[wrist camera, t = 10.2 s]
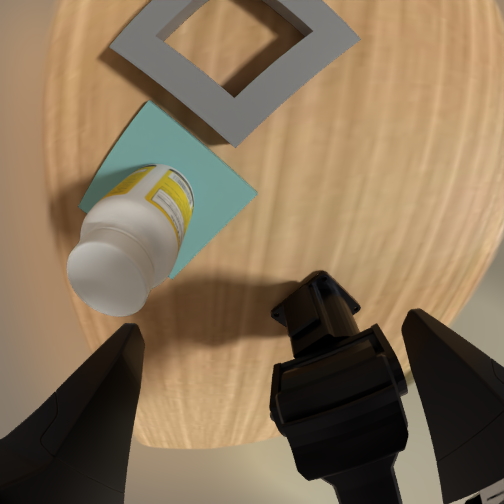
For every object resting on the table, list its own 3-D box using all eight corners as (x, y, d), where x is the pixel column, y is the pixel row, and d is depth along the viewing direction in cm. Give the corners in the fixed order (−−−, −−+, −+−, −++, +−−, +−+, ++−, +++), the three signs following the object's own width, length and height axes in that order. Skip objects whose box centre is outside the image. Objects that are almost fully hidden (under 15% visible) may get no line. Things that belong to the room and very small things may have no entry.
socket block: (349, 44, 14) (361, 39, 12) (235, 143, 17) (235, 148, 16) (234, -49, 9) (234, -61, 8) (121, 50, 13) (108, 46, 11)
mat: (257, 191, 19) (257, 194, 19) (173, 275, 23) (172, 279, 22) (150, 100, 15) (148, 100, 15) (80, 204, 19) (78, 206, 18)
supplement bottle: (119, 220, 19) (56, 304, 11) (133, 153, 17) (52, 207, 8) (184, 241, 21) (153, 341, 12) (206, 175, 18) (176, 249, 10)
